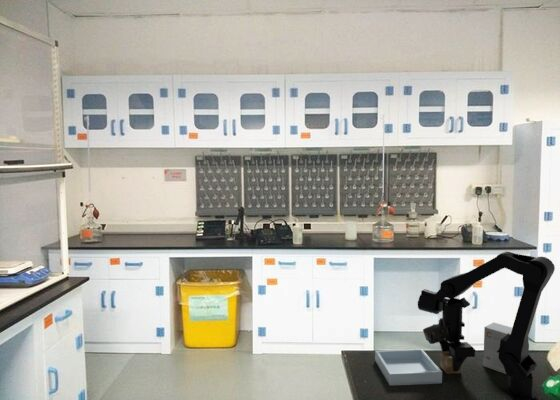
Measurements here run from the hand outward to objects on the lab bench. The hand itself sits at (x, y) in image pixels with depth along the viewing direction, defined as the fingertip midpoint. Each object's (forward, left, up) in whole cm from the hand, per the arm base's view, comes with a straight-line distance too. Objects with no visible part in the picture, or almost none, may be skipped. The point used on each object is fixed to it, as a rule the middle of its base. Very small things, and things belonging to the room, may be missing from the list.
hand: (450, 366), depth 138 cm
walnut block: (0, 0, -1) cm, 1 cm away
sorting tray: (0, +14, -1) cm, 14 cm away
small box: (0, -16, -2) cm, 16 cm away
